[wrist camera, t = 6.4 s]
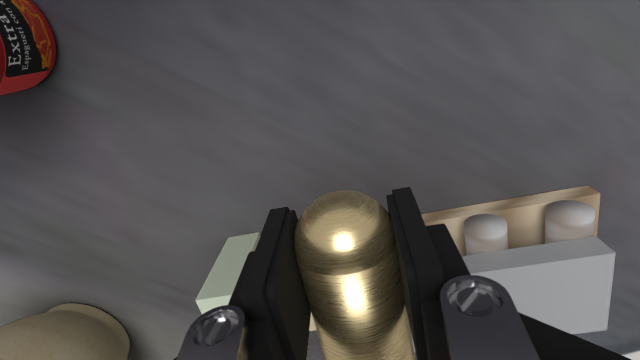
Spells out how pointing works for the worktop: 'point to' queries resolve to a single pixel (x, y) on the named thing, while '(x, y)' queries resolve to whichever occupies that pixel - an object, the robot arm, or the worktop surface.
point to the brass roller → (353, 278)
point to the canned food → (24, 46)
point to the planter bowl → (65, 336)
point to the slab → (554, 281)
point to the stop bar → (226, 271)
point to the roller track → (519, 221)
